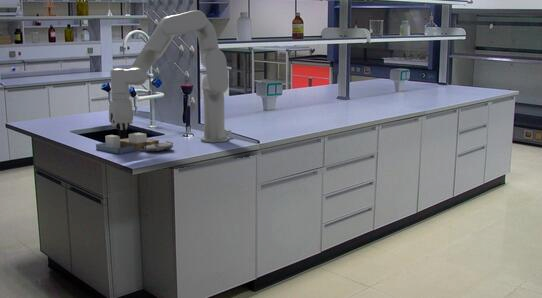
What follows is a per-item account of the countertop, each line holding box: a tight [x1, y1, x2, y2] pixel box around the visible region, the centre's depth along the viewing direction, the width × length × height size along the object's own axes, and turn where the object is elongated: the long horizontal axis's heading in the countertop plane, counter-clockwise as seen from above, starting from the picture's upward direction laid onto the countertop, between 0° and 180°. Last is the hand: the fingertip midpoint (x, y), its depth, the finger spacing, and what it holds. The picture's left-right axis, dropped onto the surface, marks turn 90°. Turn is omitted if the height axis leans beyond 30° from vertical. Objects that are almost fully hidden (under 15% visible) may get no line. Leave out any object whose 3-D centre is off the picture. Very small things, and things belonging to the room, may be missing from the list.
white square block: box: [127, 132, 148, 143], centre depth 259 cm, size 6×6×4 cm
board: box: [120, 137, 160, 152], centre depth 263 cm, size 14×15×3 cm
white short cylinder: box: [104, 134, 120, 148], centre depth 257 cm, size 6×6×4 cm
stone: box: [144, 140, 174, 152], centre depth 254 cm, size 12×9×3 cm
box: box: [95, 142, 135, 155], centre depth 254 cm, size 8×16×2 cm, turn 51°
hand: (122, 138), depth 261 cm, fingers closed
